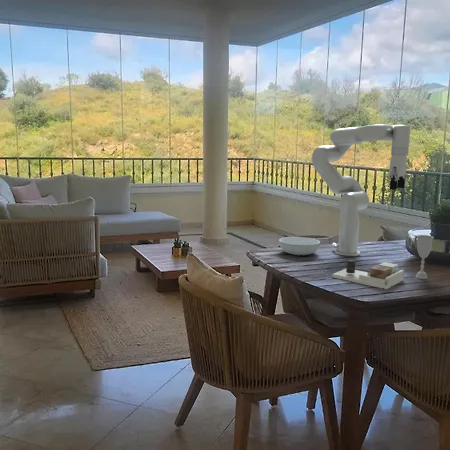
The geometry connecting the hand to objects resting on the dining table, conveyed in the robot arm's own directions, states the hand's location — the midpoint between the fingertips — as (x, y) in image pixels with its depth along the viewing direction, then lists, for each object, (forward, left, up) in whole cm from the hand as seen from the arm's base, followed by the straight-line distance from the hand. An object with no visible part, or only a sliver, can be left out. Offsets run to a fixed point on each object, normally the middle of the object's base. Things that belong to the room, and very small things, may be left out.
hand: (396, 188), depth 234 cm
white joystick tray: (+4, -35, -36) cm, 50 cm away
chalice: (+20, -16, -36) cm, 44 cm away
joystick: (+5, -39, -34) cm, 52 cm away
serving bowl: (-42, -16, -36) cm, 58 cm away
